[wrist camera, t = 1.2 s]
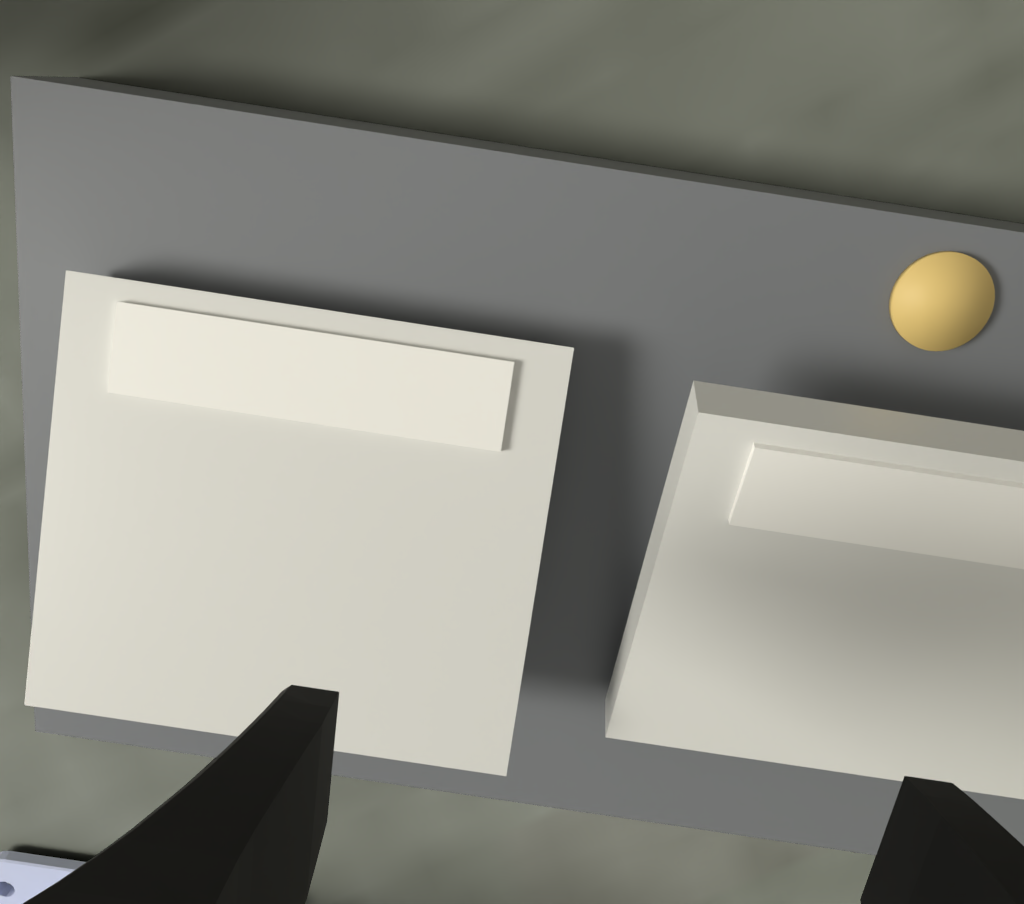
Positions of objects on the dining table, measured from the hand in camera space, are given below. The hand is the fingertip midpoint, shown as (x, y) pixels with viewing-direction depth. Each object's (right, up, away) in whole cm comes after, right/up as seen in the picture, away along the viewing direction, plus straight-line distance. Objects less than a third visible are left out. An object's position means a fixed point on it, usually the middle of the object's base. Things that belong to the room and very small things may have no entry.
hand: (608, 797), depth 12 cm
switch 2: (+6, +1, +6) cm, 8 cm away
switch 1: (-5, +3, +6) cm, 8 cm away
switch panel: (0, +4, +10) cm, 10 cm away
